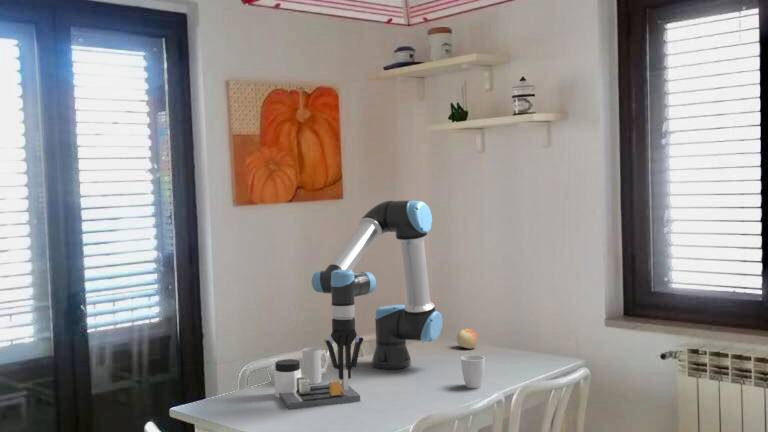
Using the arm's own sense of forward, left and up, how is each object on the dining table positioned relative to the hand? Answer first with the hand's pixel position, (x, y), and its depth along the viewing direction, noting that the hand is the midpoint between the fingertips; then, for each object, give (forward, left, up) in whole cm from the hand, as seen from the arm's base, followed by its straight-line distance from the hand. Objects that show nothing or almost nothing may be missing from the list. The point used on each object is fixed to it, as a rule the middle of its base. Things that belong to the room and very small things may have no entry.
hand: (345, 388), depth 267 cm
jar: (+16, -14, -5) cm, 22 cm away
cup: (-46, 0, -4) cm, 46 cm away
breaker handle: (+3, 0, -1) cm, 4 cm away
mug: (+3, -29, -4) cm, 29 cm away
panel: (+8, -6, -4) cm, 11 cm away
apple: (-70, -58, -4) cm, 90 cm away
